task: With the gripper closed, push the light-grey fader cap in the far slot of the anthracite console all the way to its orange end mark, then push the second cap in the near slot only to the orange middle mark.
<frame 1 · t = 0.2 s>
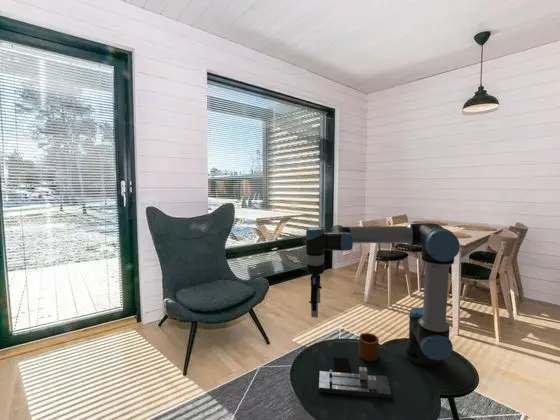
hand: (316, 309, 135), 28 cm above the table, fingers open, 13 cm apart
mug: (367, 353, 147), on the table
smartphone: (342, 369, 137), on the table
console: (353, 386, 126), on the table
fader b: (372, 382, 122), point 4 cm above the table, slide at 0.0 cm
fader a: (363, 373, 127), point 4 cm above the table, slide at 3.0 cm
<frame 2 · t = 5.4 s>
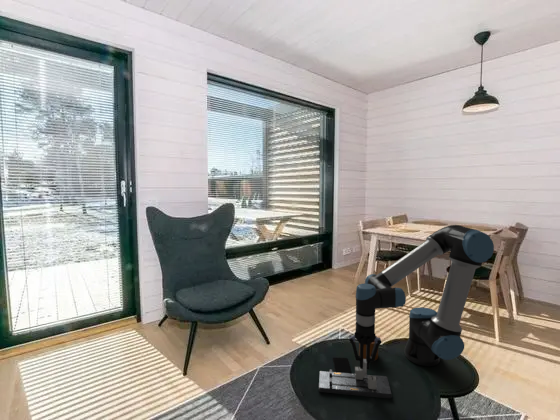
hand: (364, 375, 127), 4 cm above the table, fingers closed
fader a: (358, 373, 127), point 4 cm above the table, slide at 4.7 cm, touching gripper
everything else where it was.
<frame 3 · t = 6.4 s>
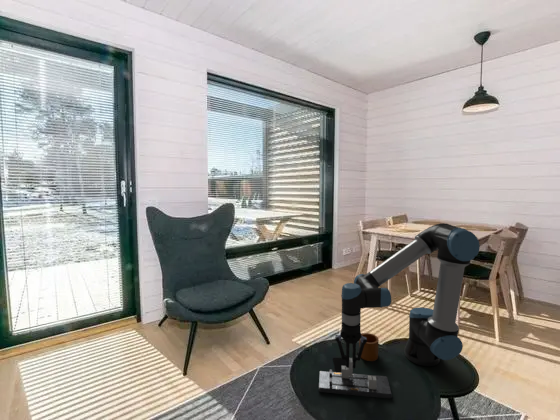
hand: (350, 374, 128), 4 cm above the table, fingers closed
fader a: (345, 371, 128), point 4 cm above the table, slide at 10.3 cm, touching gripper
everything else where it was.
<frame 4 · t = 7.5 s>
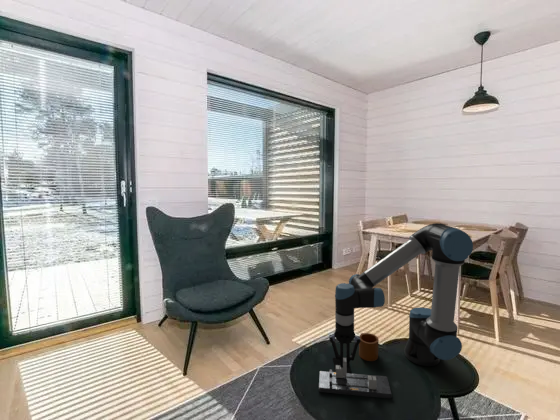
hand: (344, 373, 128), 3 cm above the table, fingers closed
fader a: (339, 371, 129), point 4 cm above the table, slide at 12.7 cm, touching gripper
everything else where it was.
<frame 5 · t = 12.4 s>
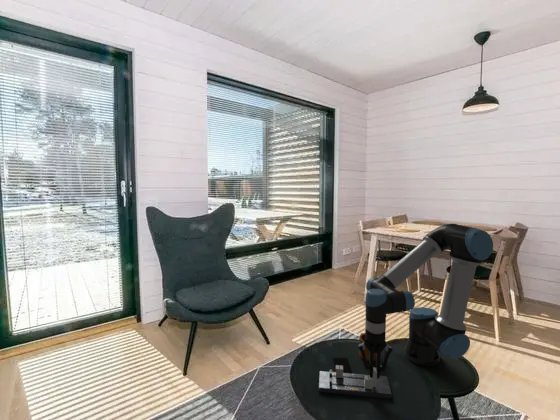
hand: (374, 384, 121), 4 cm above the table, fingers closed
fader b: (368, 382, 122), point 4 cm above the table, slide at 1.4 cm, touching gripper
fader a: (339, 371, 129), point 4 cm above the table, slide at 12.7 cm
everything else where it was.
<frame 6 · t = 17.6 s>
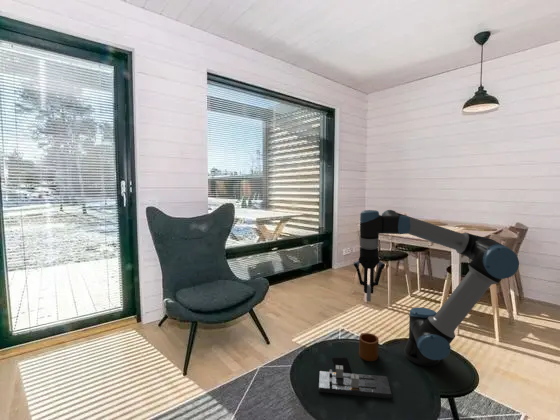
hand: (368, 300, 132), 32 cm above the table, fingers closed
fader b: (354, 380, 123), point 4 cm above the table, slide at 6.7 cm
everything else where it was.
at the end: fader a slide at 12.7 cm; fader b slide at 6.7 cm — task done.
